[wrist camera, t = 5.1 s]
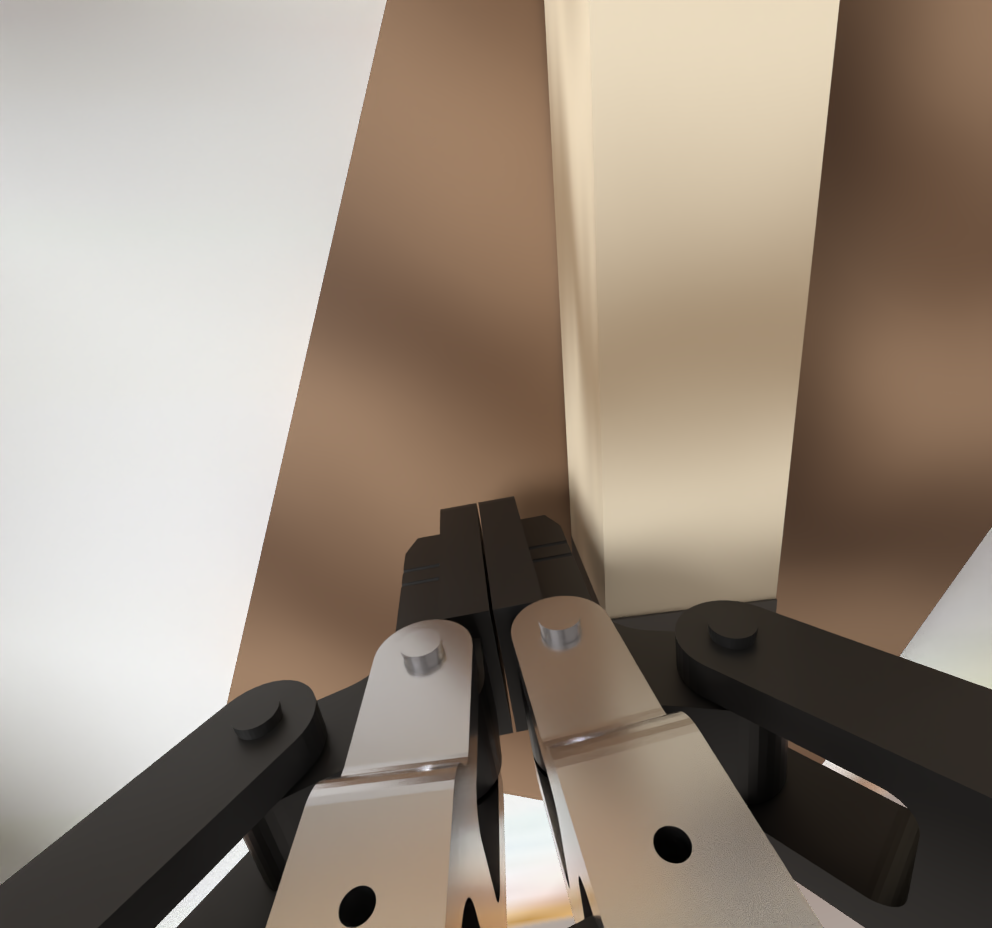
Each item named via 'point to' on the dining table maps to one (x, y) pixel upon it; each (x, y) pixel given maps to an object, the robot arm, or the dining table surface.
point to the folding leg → (683, 285)
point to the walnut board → (538, 345)
